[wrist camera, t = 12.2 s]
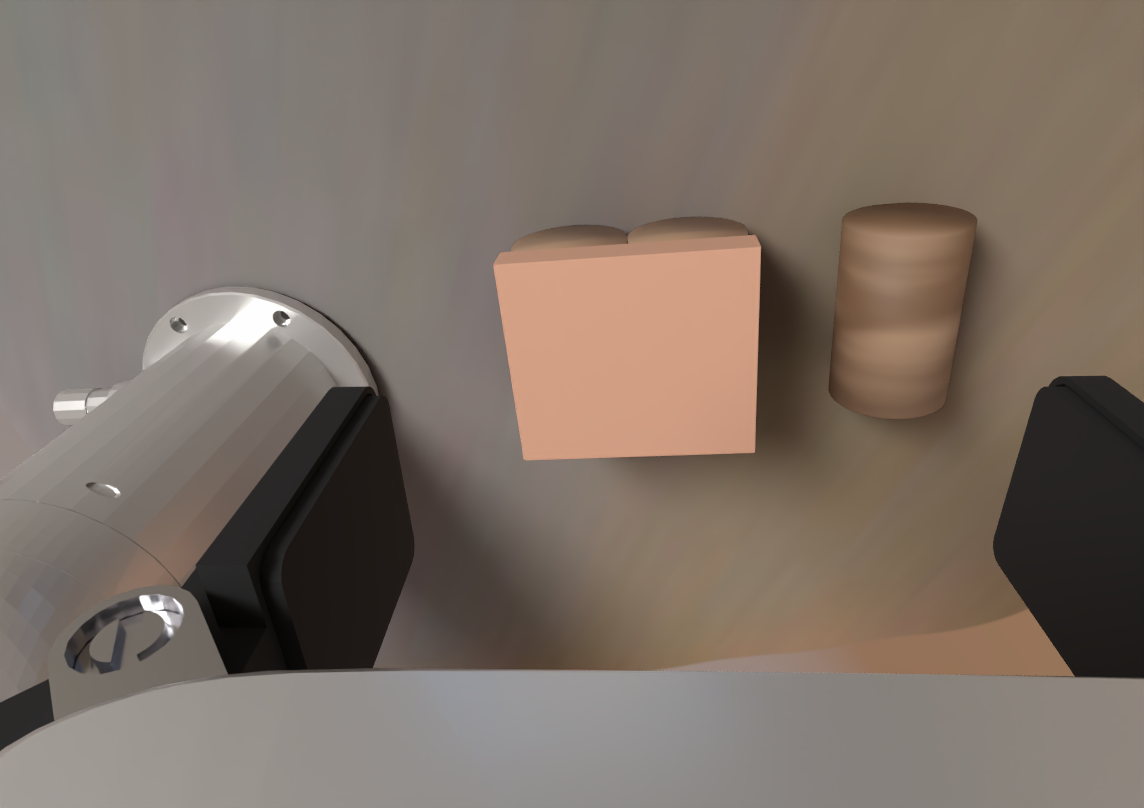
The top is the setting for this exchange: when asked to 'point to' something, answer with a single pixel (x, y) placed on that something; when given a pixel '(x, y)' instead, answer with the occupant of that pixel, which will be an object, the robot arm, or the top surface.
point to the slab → (633, 338)
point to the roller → (899, 307)
